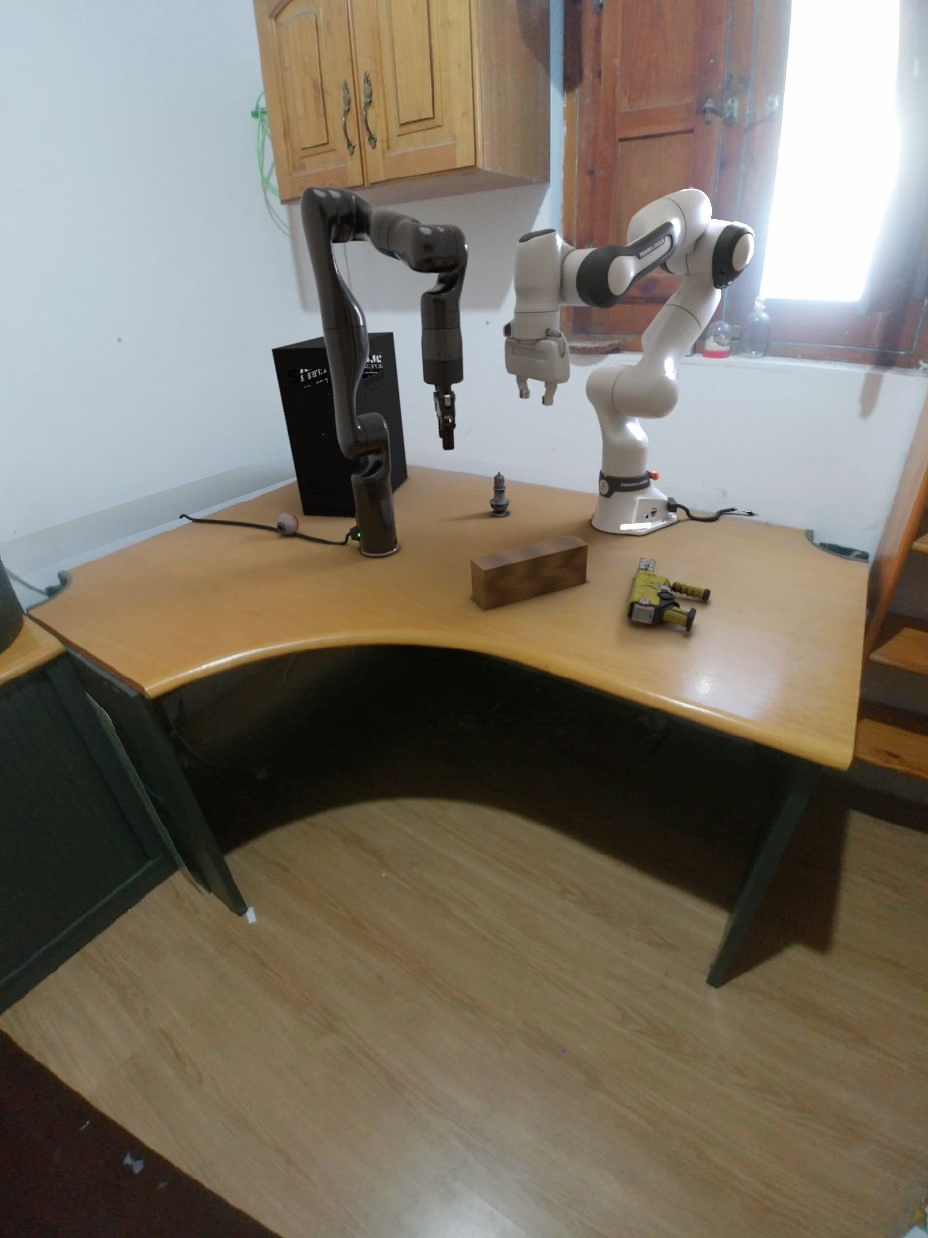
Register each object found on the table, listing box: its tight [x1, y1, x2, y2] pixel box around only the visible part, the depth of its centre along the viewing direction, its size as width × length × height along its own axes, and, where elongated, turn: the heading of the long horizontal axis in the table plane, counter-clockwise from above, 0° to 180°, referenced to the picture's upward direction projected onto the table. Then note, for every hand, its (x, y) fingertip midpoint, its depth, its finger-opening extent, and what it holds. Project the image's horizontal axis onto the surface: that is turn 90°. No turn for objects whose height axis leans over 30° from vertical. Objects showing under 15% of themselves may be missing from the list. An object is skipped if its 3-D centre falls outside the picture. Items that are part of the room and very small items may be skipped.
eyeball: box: [275, 511, 300, 536], centre depth 163 cm, size 6×6×6 cm
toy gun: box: [626, 557, 712, 633], centre depth 120 cm, size 5×24×15 cm
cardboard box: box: [271, 331, 409, 517], centre depth 180 cm, size 38×20×45 cm, turn 167°
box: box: [470, 534, 589, 611], centre depth 127 cm, size 25×6×9 cm, turn 115°
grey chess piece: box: [488, 471, 511, 517], centre depth 168 cm, size 6×6×12 cm
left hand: (446, 443), depth 119 cm, fingers open, 8 cm apart
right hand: (535, 401), depth 125 cm, fingers open, 8 cm apart
